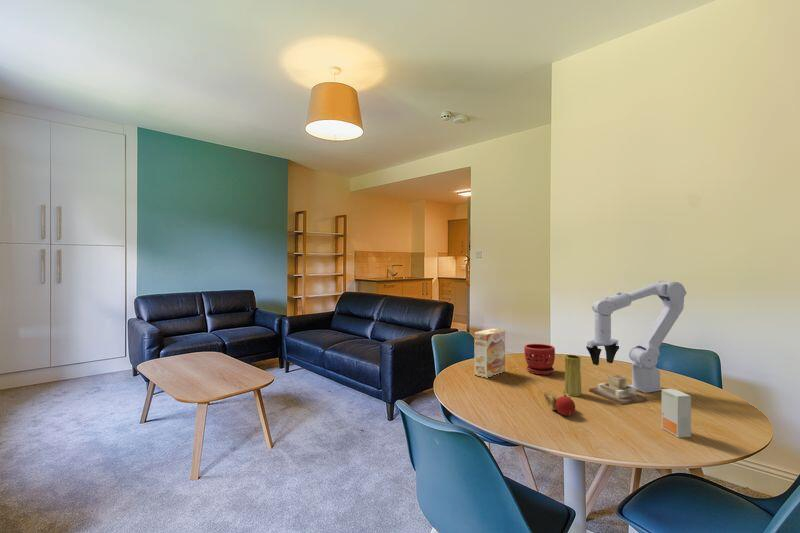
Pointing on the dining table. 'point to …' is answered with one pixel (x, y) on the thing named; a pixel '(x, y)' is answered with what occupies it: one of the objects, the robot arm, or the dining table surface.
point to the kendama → (560, 403)
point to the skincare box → (676, 412)
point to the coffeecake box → (489, 352)
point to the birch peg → (617, 382)
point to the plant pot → (540, 358)
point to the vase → (572, 375)
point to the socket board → (618, 394)
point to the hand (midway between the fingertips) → (602, 363)
